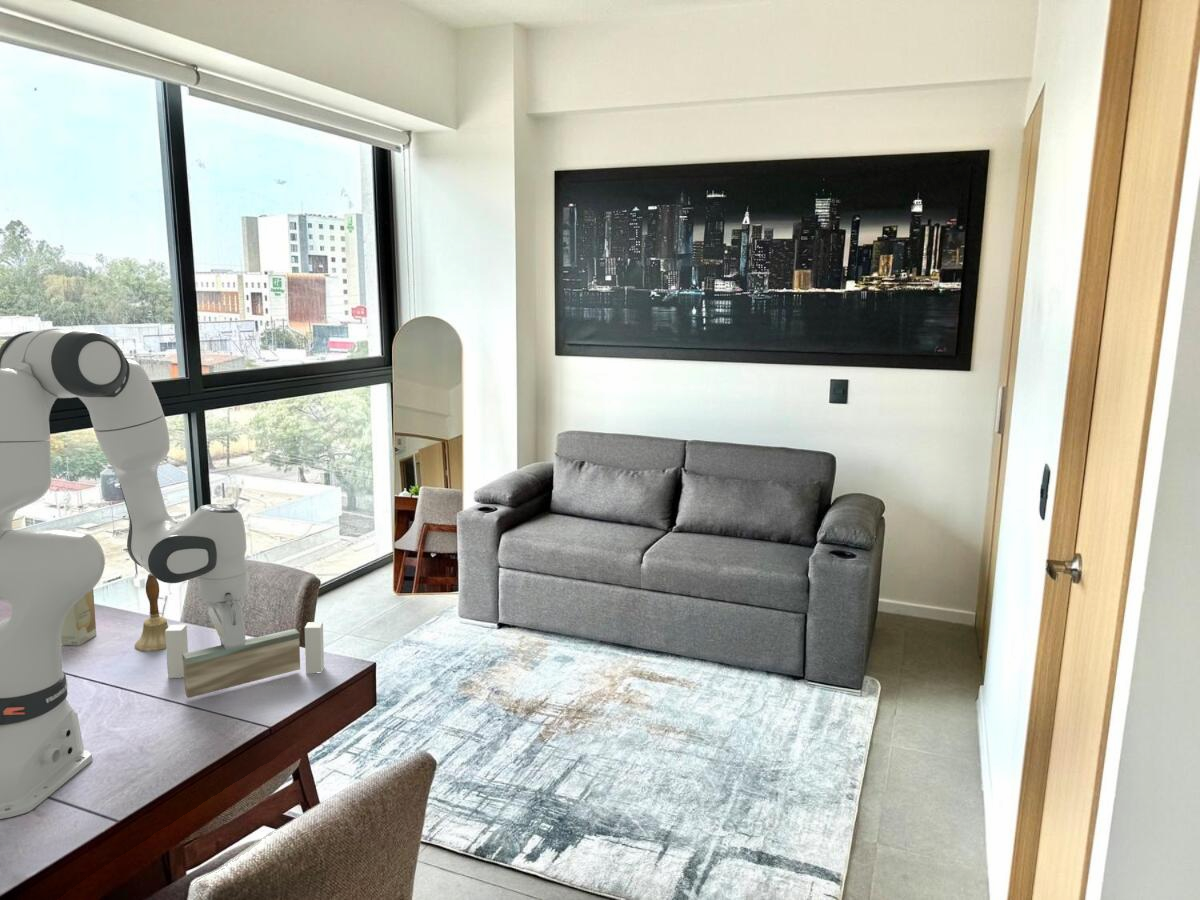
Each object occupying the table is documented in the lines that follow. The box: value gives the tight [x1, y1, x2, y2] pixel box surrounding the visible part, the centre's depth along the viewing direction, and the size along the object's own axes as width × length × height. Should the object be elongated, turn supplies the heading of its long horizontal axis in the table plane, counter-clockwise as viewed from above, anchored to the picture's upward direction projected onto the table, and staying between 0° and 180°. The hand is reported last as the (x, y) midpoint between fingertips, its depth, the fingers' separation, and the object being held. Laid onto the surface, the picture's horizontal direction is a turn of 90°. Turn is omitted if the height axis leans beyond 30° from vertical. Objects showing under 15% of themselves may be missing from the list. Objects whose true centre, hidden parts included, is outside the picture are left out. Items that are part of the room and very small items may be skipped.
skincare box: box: [61, 588, 97, 646], centre depth 180 cm, size 6×4×12 cm
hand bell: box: [134, 573, 169, 652], centre depth 179 cm, size 8×8×16 cm
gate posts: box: [165, 621, 325, 679], centre depth 167 cm, size 3×30×10 cm, turn 98°
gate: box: [182, 628, 301, 699], centre depth 161 cm, size 3×21×8 cm, turn 130°
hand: (227, 652), depth 162 cm, fingers closed
